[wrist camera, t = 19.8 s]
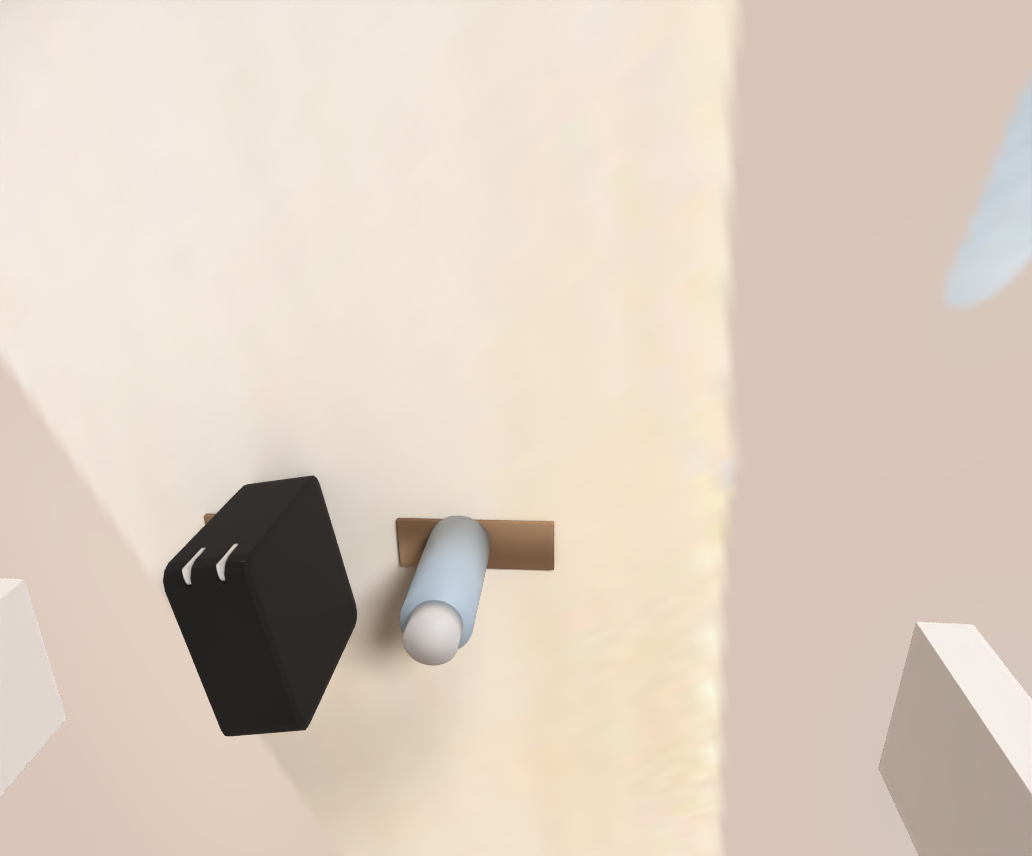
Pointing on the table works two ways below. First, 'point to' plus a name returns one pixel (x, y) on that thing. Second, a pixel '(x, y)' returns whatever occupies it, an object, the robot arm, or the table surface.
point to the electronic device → (264, 606)
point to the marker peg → (445, 591)
